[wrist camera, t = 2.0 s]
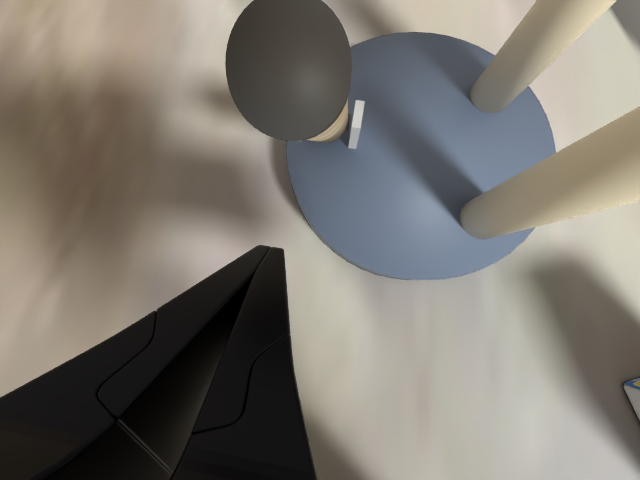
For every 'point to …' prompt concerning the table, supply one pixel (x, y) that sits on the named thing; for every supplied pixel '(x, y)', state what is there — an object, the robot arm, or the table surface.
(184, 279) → the table surface
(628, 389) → the ink cartridge box
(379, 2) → the table surface
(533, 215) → the round peg stand
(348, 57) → the hinged leg
